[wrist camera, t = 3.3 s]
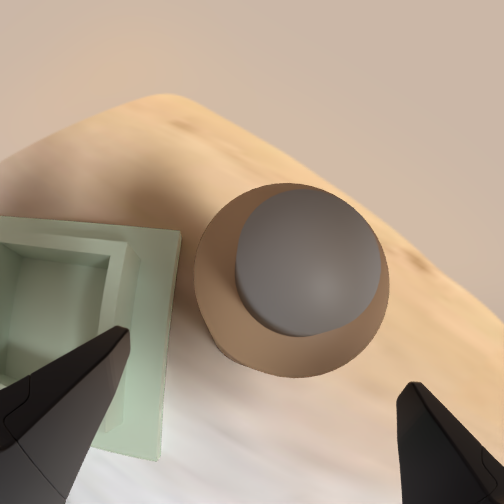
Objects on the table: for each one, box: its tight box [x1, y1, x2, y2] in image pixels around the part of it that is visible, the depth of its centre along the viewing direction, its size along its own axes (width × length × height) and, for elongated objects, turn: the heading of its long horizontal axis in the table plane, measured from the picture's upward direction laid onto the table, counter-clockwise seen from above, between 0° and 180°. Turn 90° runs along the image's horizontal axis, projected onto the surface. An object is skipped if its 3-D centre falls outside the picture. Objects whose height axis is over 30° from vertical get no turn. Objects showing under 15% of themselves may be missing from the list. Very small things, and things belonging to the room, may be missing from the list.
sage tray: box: [0, 216, 182, 462], centre depth 15 cm, size 18×14×4 cm
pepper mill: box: [194, 183, 389, 378], centre depth 13 cm, size 5×5×13 cm
